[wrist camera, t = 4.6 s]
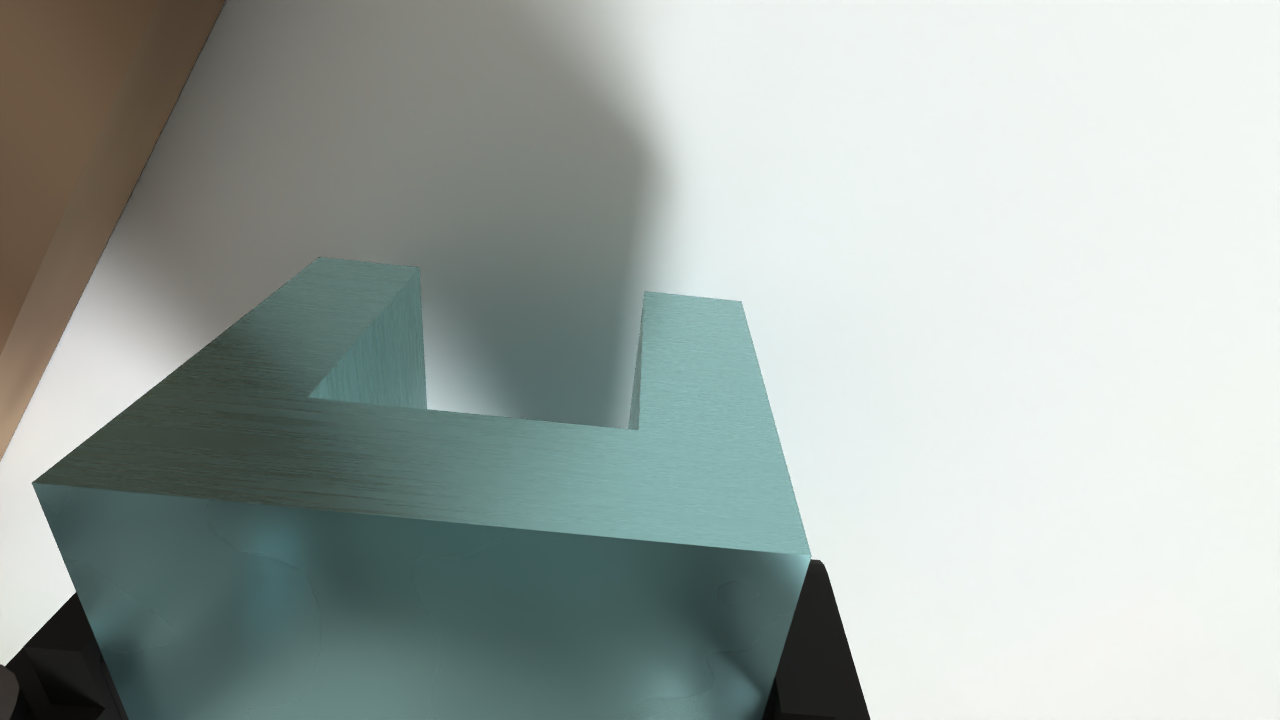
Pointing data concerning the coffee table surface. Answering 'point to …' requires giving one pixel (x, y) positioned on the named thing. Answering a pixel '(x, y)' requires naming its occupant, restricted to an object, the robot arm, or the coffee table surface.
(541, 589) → the teal notched block
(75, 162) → the rail stand
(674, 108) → the coffee table surface
